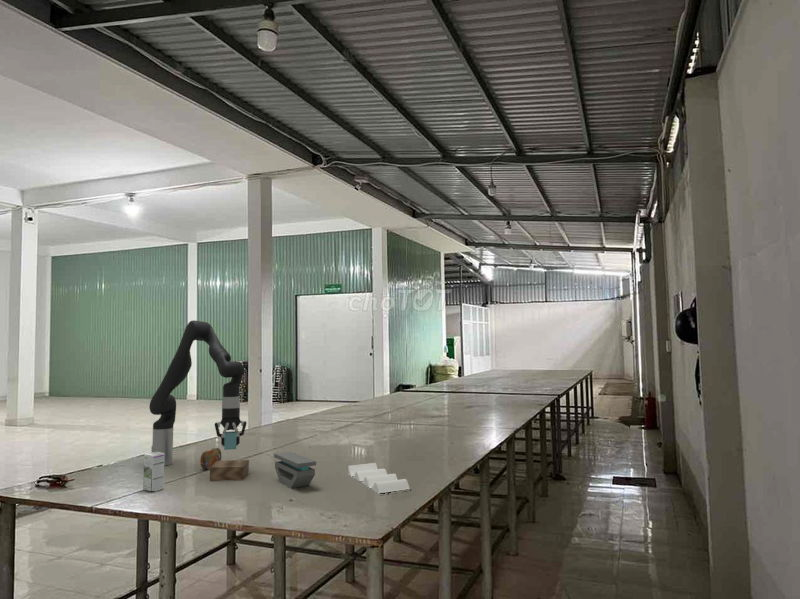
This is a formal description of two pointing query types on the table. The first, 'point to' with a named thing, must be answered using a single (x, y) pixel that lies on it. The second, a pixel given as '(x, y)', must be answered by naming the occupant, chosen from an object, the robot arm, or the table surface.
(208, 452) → the tin
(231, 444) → the teal block
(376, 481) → the white corrugated sheet
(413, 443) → the table surface
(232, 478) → the walnut block
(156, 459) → the syrup box
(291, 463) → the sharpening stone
